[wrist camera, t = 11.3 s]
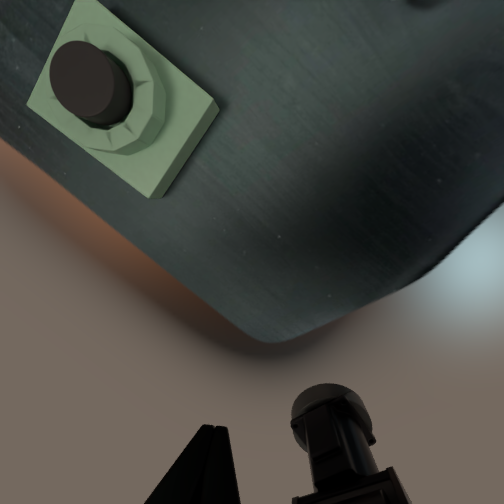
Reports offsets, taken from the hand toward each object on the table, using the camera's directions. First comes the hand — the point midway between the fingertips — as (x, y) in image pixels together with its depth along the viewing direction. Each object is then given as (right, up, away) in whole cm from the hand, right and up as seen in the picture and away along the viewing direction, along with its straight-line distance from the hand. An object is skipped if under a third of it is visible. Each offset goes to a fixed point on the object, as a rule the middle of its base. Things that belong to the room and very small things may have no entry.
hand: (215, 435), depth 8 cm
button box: (-8, +16, +10) cm, 21 cm away
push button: (-8, +16, +6) cm, 19 cm away
